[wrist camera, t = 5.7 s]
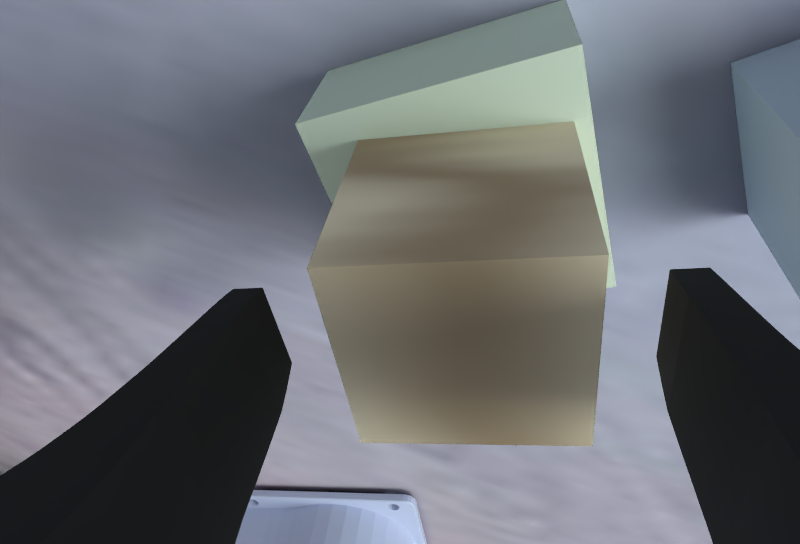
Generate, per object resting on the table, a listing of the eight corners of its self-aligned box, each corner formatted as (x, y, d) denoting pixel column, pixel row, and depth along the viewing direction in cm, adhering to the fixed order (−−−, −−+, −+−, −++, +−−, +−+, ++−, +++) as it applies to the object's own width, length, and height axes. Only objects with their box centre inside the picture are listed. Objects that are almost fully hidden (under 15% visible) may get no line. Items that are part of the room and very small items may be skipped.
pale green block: (402, 247, 19) (386, 323, 16) (330, 67, 15) (295, 124, 13) (596, 208, 17) (616, 286, 14) (564, -4, 13) (582, 44, 11)
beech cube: (391, 297, 15) (361, 442, 12) (358, 140, 13) (306, 268, 9) (568, 291, 14) (592, 445, 11) (574, 121, 12) (608, 254, 8)
